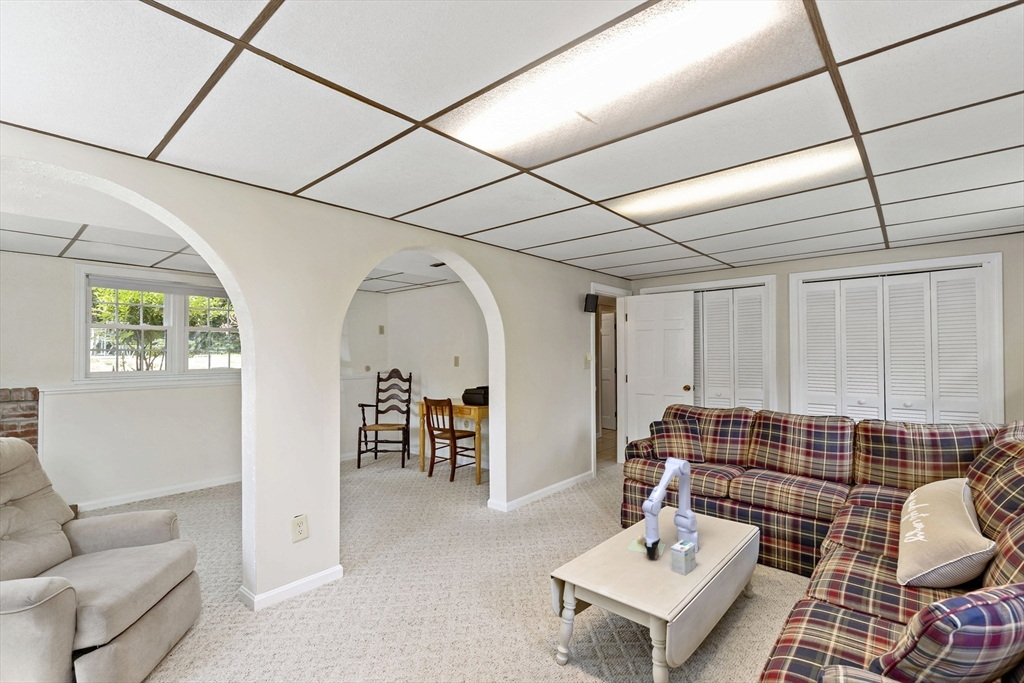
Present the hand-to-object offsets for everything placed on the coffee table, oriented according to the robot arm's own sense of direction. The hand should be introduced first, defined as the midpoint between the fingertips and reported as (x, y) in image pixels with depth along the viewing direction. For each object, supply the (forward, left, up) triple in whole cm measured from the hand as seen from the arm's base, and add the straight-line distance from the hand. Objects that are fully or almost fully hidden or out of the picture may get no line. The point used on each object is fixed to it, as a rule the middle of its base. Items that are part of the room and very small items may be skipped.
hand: (652, 556), depth 219 cm
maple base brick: (+6, -12, 0) cm, 13 cm away
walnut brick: (0, 0, -1) cm, 1 cm away
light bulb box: (-14, +4, -2) cm, 15 cm away
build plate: (+5, -11, -1) cm, 12 cm away
